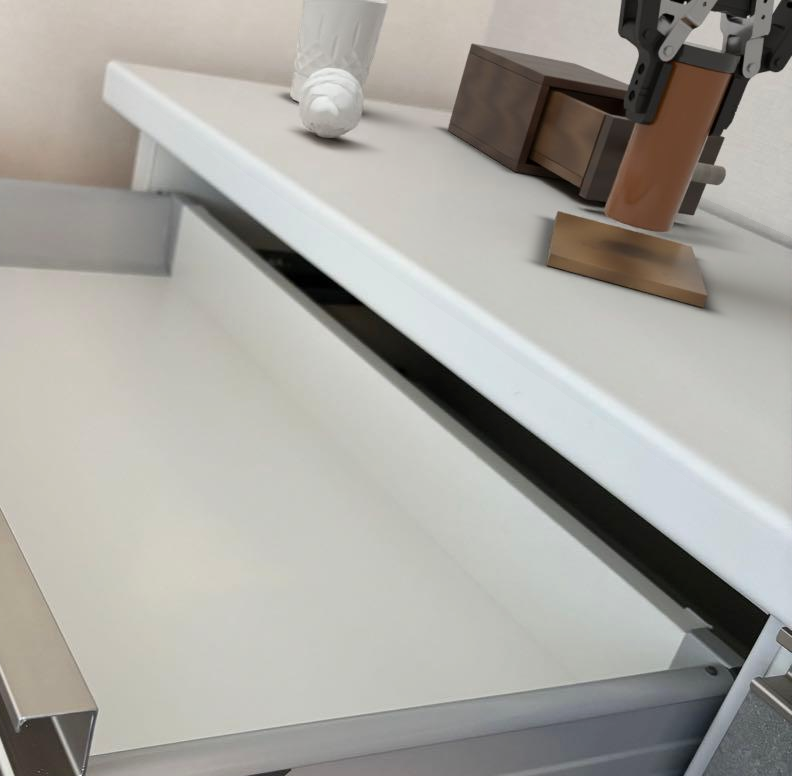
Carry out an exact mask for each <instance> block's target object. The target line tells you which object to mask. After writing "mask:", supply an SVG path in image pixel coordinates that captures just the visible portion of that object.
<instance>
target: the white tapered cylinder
mask: <svg viewBox="0 0 792 776" xmlns="http://www.w3.org/2000/svg"><path fill="white" fill-rule="evenodd" d="M388 6H389V2H388V1H387V0H303V3H302V8H301V15H300V21H299V27H298V33H297V40H296V50H295V54H294V61H293V62H294V63H293V64H294V65H293V68H294V71H293V73H292V74H293V75H292V80H291V85H290V86H291V87H290V92H289V96H290V97H291V99H292V100H293V101H296V102H298V103H299V93H300V90H301V88H302V86H303V85H304V83H305V82H306V81H307V80H308V78H309V77H310V76H311V75H312V74H313V73H315V72H317V71H319V70H321V69H324V68H335V69H342V70H345V71H347V72H349V73H350V74H351V75H352V76H353V77H354V78H355V79H356V80H357V81H358V83H359V84H360V86H361V90H362V93H363V92H364V85H365V84H366V82H367V80H368V77H369V73H370V69H371V66H372V63H373V60H374V57H375V54H376V50H377V46H378V42H379V39H380V35H381V31H382V28H383V25H384V20H385V17H386V13H387V9H388Z"/></svg>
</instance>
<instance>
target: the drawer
mask: <svg viewBox="0 0 792 776" xmlns="http://www.w3.org/2000/svg"><path fill="white" fill-rule="evenodd" d="M626 110H627V109H625V108H624V100H620V99H615V98H610V97H604V96H599V95H594V94H588V93H583V92H578V91H572V90H567V89H562V88H556V87H551V86H550V87H549V91H548V94H547V97H546V100H545V103H544V107H543V110H542V113H541V116H540V119H539V122H538V126H537V129H536V132H535V135H534V138H533V141H532V145H531V148H530V151H529V154H528V158H529V159H531V160H533V161H535V162H536V163H538V164H540V165H541V166H543V167H545V168H547V169H548V170H550V171H552V172H553V173H555V174H557V175H559V176H560V177H562V178H564V179H565V180H564V181H567V182H569V183H571V184H572V185H574V186H576V187H577V188H578V189H580V190H579V193H578V196H579V197H581V198H583V199H585V200H588V201H596V202H601V203H607V200H608V197H609V195H610V192H611V189H612V186H613V183H614V181H615V178H616V175H617V172H618V170H619V167H620V164H621V161H622V158H623V156H624V153H625V150H626V147H627V144H628V142H629V139H630V136H631V133H632V130H633V128H634V125H635V122H633V121H631V120H629V119H627V118H626ZM725 138H726V137H724V136H723V135H721V136H720V137H718V138H713V137H708V138H707V140H706V143H705V145H704V148H703V150H702V153H701V155H700V158H699V161H698V163H697V166H696V168H695V171H694V173H693V176H692V178H691V181H690V183H689V186H688V188H687V191H686V194H685V196H684V199H683V201H682V204H681V206H680V209H679V211H678V214H679V215H687V216H694V215H695V214H696V211H697V209H698V206H699V203H700V201H701V199H702V196H703V193H704V190H705V188H706V186H707V185H712V186H720V185H721V184H722V183H723V182H724V181H725V179H726V176H727V170H726V168H725V167H724V166H722V165H716V161H717V159H718V156H719V154H720V151H721V149H722V147H723V144H724V141H725Z"/></svg>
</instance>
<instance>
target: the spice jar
mask: <svg viewBox="0 0 792 776" xmlns="http://www.w3.org/2000/svg"><path fill="white" fill-rule="evenodd" d="M740 58H741V56H739V55H737V54H734V53H730V52H727V51H723V50H722V49H719V48H715V47H713V46H712V47H711V46H707V45H703V44H699V43H695V42H690V41H686V40H685V41H684V43H683V44H682V46H681V47H680V49H679V50H678V52H677V53H676V55H675V56H674V57H673V58H672V59H671V60H669V61H668V63H670V64H672V65H673V68H672V70H671V73H670V76H669V79H668V81H667V84H666V87H665V90H664V92H663V95H662V98H661V101H660V103H659V106H658V109H657V111H656V114H655V117H654V120H653V122H652V123H651V124H650V125H643V124H638V123H635V125H634V128H633V130H632V133H631V136H630V139H629V142H628V144H627V147H626V150H625V153H624V156H623V158H622V161H621V164H620V167H619V170H618V172H617V175H616V178H615V181H614V183H613V186H612V189H611V192H610V195H609V197H608V200H607V202H605V206H604V209H603V214H605V215H606V216H607V218H610V219H612V220H613V221H616V222H619V223H621V224H625V225H627V226H630V227H633V228H636V229H637V228H638V229H641V230H645V231H649V232H657V233H668V232H671V231H672V229H673V227H674V224H675V222H676V219H677V216H678V214H679V213H678V211H679V209H680V206H681V204H682V201H683V199H684V196H685V194H686V191H687V188H688V186H689V183H690V181H691V178H692V176H693V173H694V171H695V168H696V166H697V163H698V161H699V158H700V155H701V153H702V150H703V148H704V145H705V143H706V140H707V138H708V135H709V133H710V130H711V127H712V125H713V122H714V120H715V117H716V115H717V112H718V110H719V107H720V105H721V102H722V100H723V97H724V94H725V92H726V89H727V87H728V84H729V82H730V79H731V77H732V73H735V71H736V68H737V66H738V63H739V61H740Z"/></svg>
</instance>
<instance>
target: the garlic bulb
mask: <svg viewBox="0 0 792 776" xmlns="http://www.w3.org/2000/svg"><path fill="white" fill-rule="evenodd" d="M364 102H365V97H364V93H363V92H362V90H361V86H360V84H359V83H358V81H357V80H356V79H355V78H354V77H353V76H352V75H351V74H350V73H349V72H347V71H345V70H342V69H335V68H324V69H321V70H319V71H317V72H315V73H313V74H312V75H311V76H310V77H309V78H308V80H307V81H306V82H305V83H304V85H303V86H302V88H301V90H300V93H299V102H298V113H299V118H300V120H301V123H302V125H303V126H304V127H305V128H306V129H308V130H309V131H311V132H314V133H315V135H317V136H318V137H320V138H324V139H334V138H339V137H341V136H343V135H346V134H347V133H349V132H350V131H353V130H354V129H355V128H356V127H357V126H358V125H359V123H360V121H361V118H362V116H363V110H364Z"/></svg>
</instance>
